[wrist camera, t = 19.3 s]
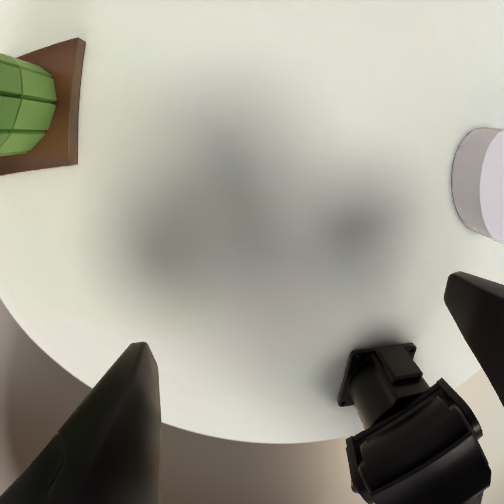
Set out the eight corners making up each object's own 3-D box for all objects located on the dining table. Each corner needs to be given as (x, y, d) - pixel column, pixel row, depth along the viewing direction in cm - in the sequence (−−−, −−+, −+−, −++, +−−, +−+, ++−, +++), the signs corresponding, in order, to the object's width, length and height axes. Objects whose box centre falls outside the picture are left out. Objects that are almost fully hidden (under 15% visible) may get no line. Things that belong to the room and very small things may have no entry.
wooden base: (77, 164, 17) (44, 169, 13) (-7, 176, 17) (-42, 184, 13) (85, 41, 15) (57, 23, 11) (-2, 71, 14) (-34, 64, 10)
